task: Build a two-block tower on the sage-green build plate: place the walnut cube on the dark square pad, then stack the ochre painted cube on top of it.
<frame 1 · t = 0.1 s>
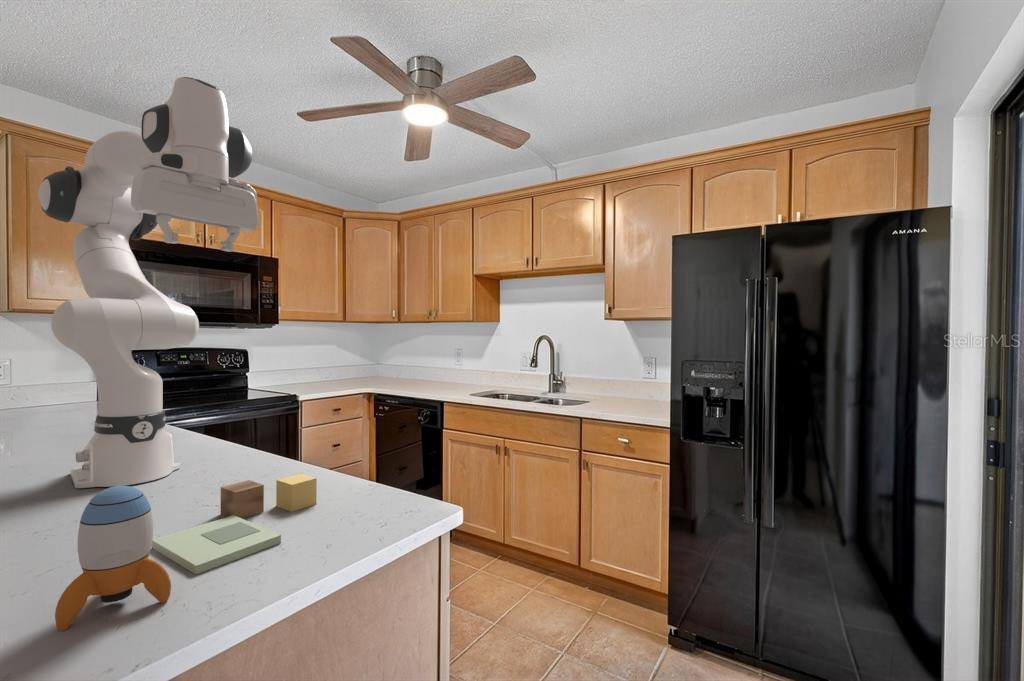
hand: (200, 247, 88), 48 cm above the counter, fingers open, 8 cm apart
build plate: (217, 545, 74), on the counter
ochre block: (296, 505, 91), on the counter
toy rocket: (126, 606, 58), on the counter
walnut block: (242, 513, 87), on the counter
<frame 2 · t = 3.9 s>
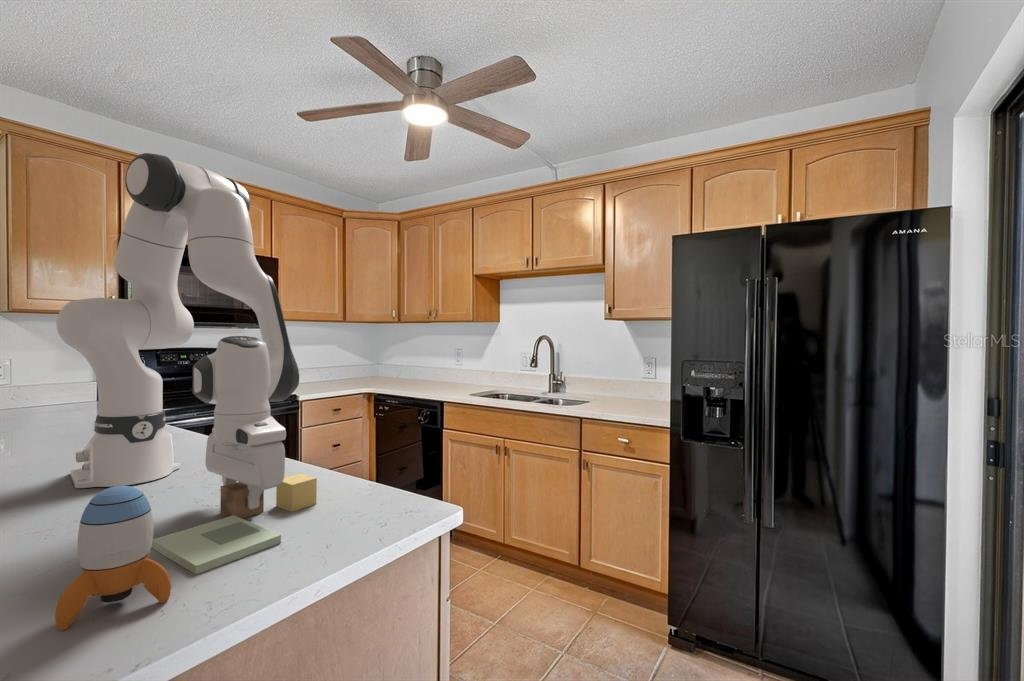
hand: (242, 503, 87), 2 cm above the counter, fingers closed on walnut block, 5 cm apart
walnut block: (242, 513, 87), on the counter, touching gripper
everything else where it was.
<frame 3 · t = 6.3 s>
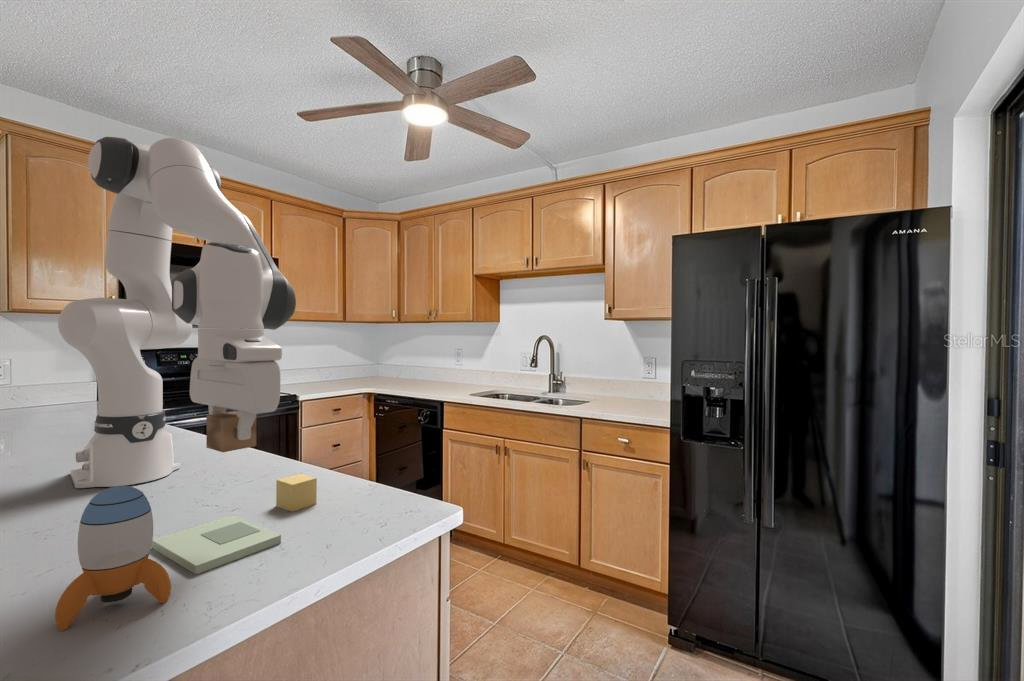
hand: (231, 436, 75), 16 cm above the counter, fingers closed on walnut block, 5 cm apart
walnut block: (231, 446, 75), point 15 cm above the counter, touching gripper
everything else where it was.
when the fingers open (4 cm above the counter, at t = 8.8 s): walnut block drops 1 cm, resting on build plate.
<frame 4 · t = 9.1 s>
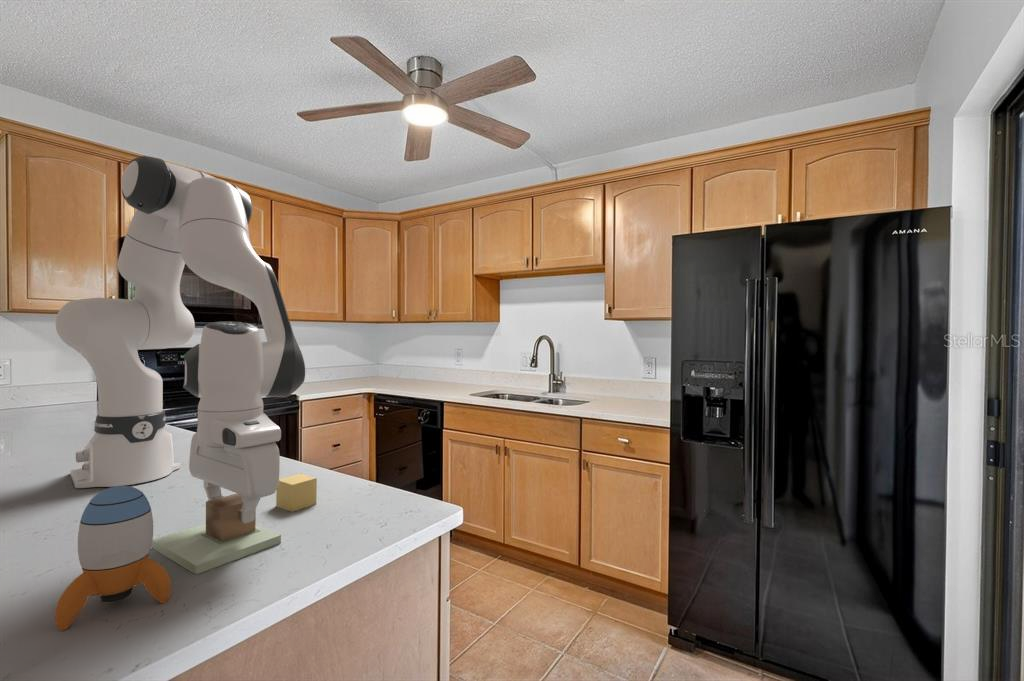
hand: (230, 514, 75), 4 cm above the counter, fingers open, 8 cm apart
walnut block: (230, 532, 75), point 1 cm above the counter, touching build plate
everything else where it was.
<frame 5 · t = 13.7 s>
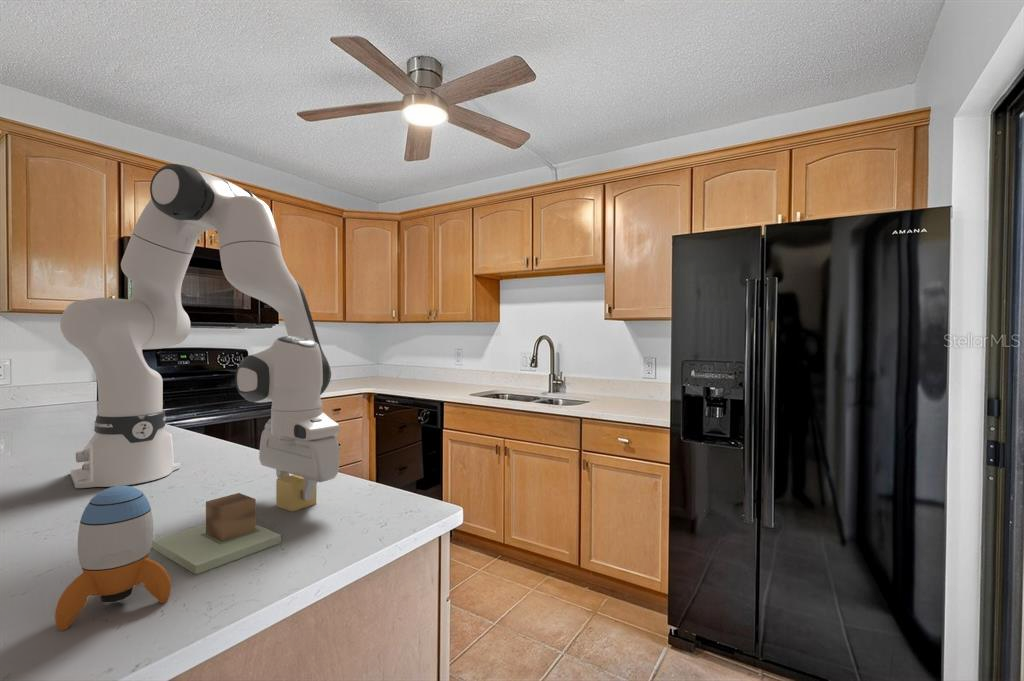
hand: (296, 496, 91), 2 cm above the counter, fingers closed on ochre block, 5 cm apart
ochre block: (296, 504, 91), on the counter, touching gripper
everything else where it was.
when the fingers open (9 cm above the counter, at t = 18.8 s): ochre block drops 1 cm, resting on walnut block.
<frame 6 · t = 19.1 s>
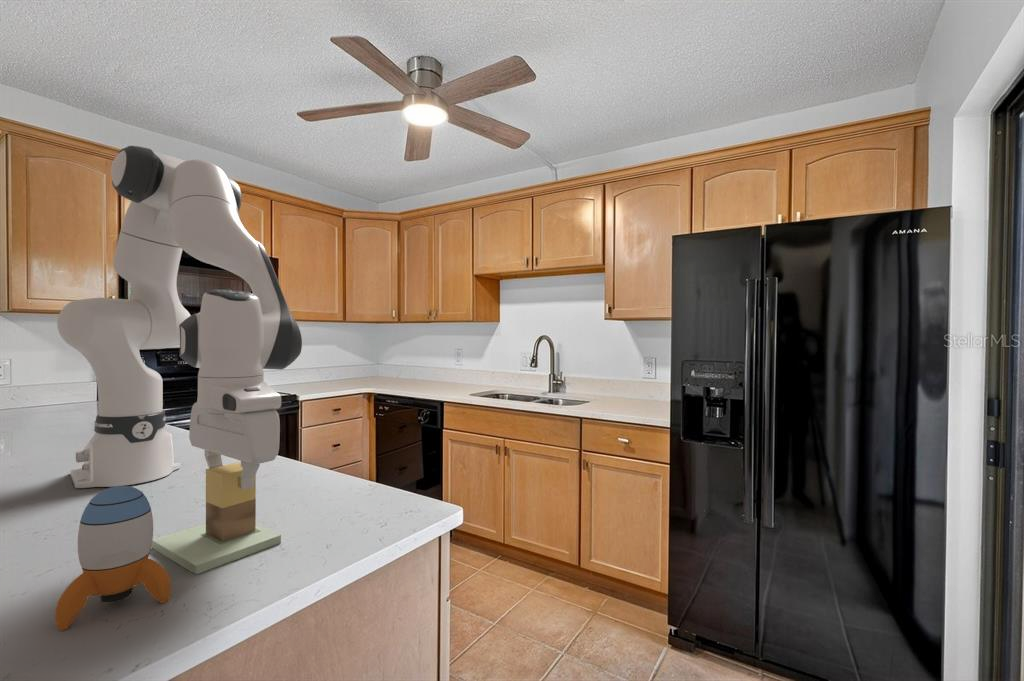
hand: (231, 482, 75), 9 cm above the counter, fingers open, 7 cm apart
ochre block: (230, 500, 75), point 6 cm above the counter, touching walnut block
walnut block: (230, 532, 75), point 1 cm above the counter, touching build plate, ochre block
everything else where it was.
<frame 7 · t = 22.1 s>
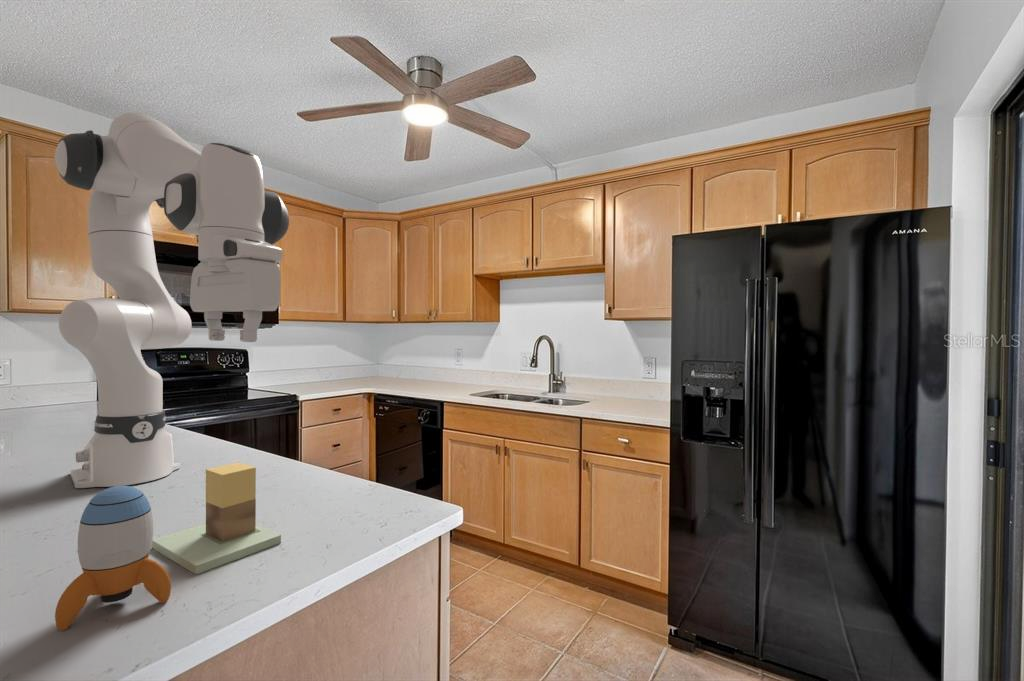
hand: (232, 341, 75), 31 cm above the counter, fingers open, 8 cm apart
nothing on the counter moved.
at the end: walnut block 0.1 cm from the target spot on the build plate, point 1.3 cm above the build plate's base; ochre block 0.0 cm off-centre on the walnut block, point 5.0 cm above the walnut block's base; ochre block tilted 0° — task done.
